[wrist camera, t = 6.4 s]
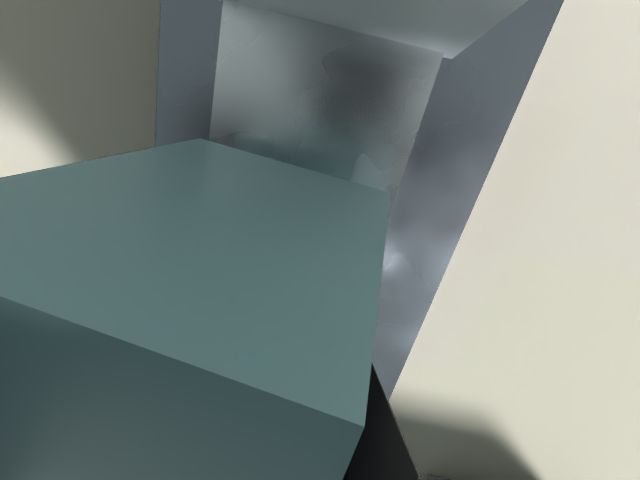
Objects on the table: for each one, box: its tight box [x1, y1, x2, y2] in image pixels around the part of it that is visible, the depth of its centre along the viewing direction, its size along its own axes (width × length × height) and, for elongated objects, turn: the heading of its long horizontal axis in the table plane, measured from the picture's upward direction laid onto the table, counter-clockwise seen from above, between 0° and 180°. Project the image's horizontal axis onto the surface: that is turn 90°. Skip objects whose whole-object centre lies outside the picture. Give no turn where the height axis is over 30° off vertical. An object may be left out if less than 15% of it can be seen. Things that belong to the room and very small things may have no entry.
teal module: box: [0, 138, 391, 480], centre depth 7 cm, size 4×7×6 cm, turn 167°
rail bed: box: [155, 0, 564, 401], centre depth 11 cm, size 9×26×2 cm, turn 166°
